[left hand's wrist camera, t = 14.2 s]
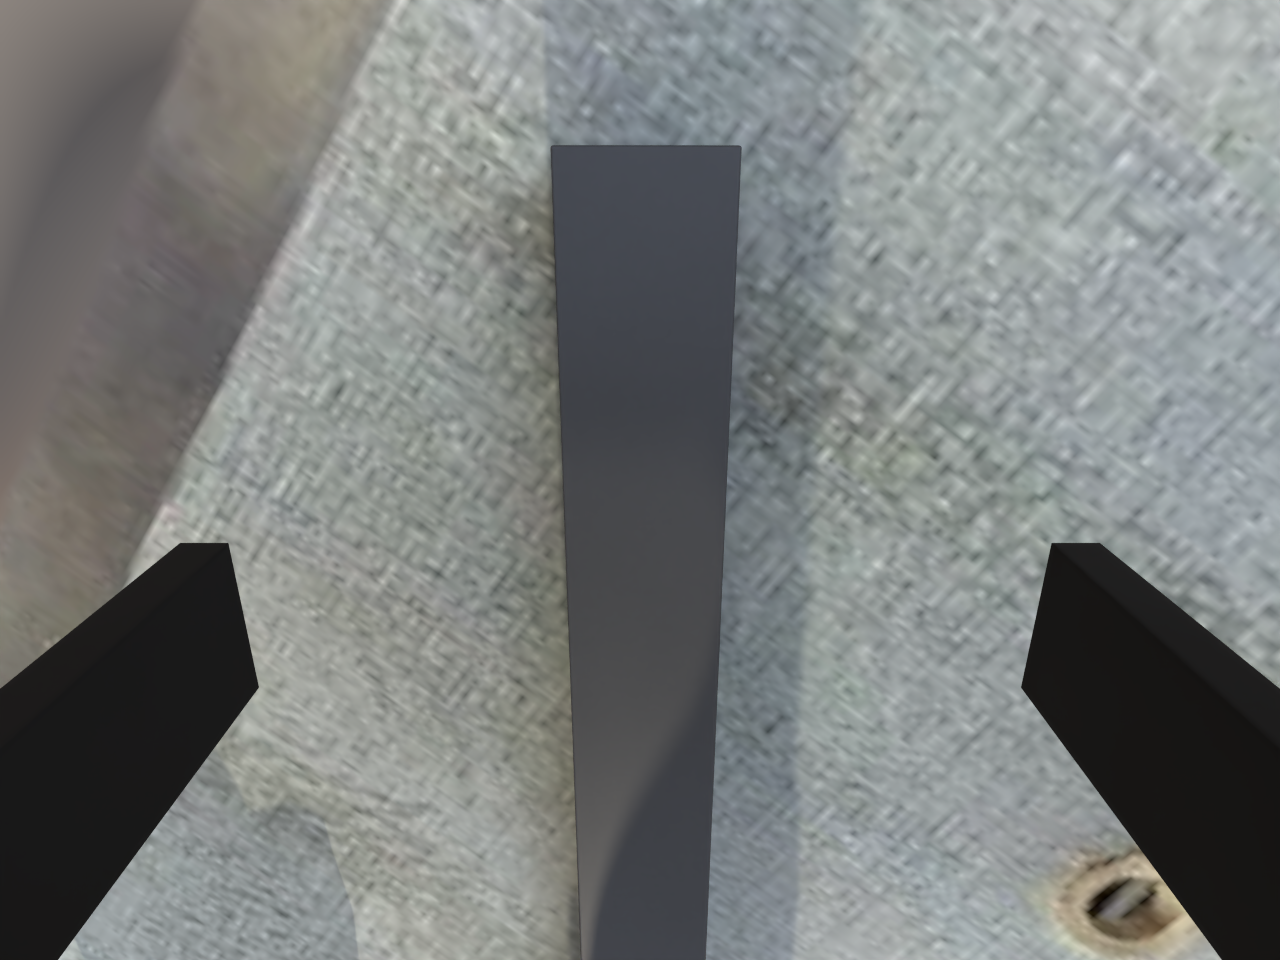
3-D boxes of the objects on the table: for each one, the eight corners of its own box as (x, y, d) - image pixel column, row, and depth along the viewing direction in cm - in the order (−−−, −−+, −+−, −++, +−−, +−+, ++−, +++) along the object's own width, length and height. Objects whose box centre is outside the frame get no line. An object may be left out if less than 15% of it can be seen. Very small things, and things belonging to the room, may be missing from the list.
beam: (572, 151, 30) (550, 145, 23) (716, 151, 31) (741, 145, 23) (597, 1033, 49) (589, 1188, 42) (687, 1033, 49) (695, 1188, 42)
